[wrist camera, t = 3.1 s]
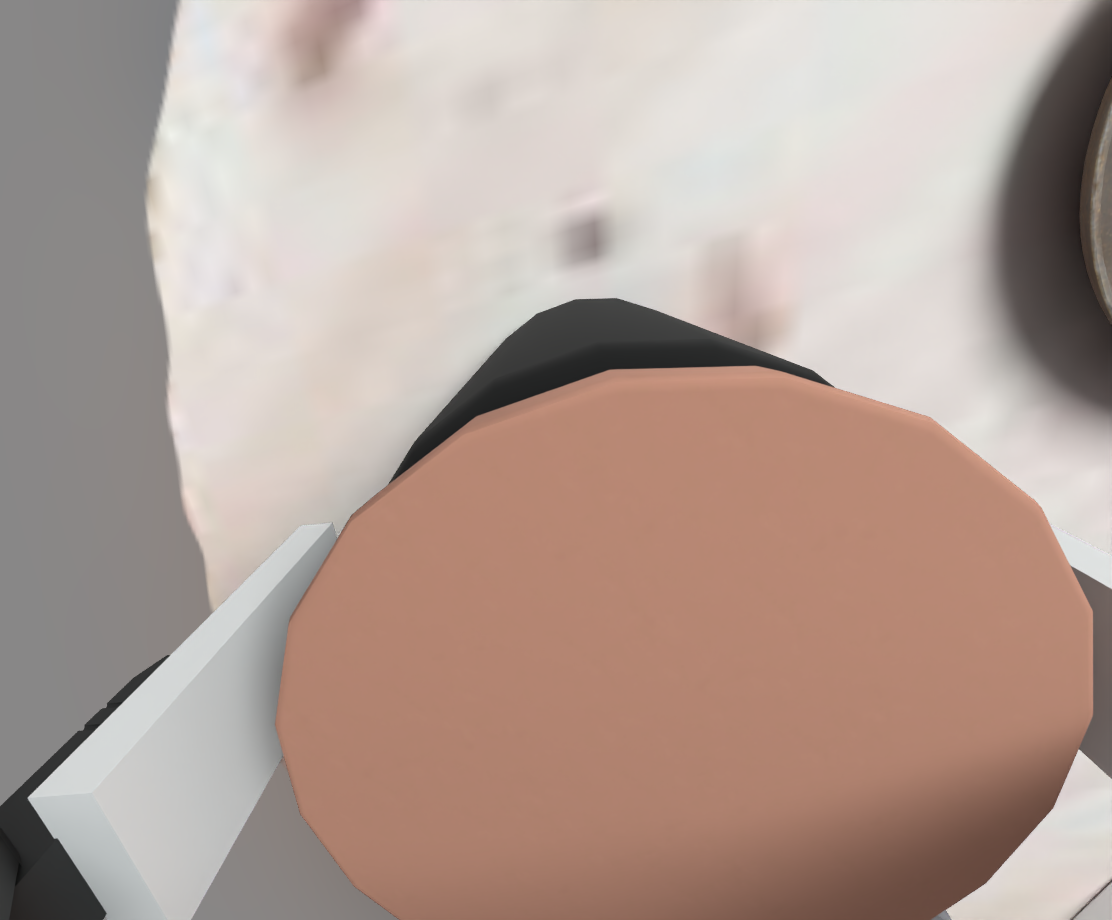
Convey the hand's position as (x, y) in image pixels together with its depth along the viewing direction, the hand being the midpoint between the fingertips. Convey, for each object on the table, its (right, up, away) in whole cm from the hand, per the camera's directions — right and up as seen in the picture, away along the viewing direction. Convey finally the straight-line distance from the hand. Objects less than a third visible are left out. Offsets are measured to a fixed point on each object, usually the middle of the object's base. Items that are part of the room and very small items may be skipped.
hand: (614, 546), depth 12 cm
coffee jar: (0, +4, +12) cm, 13 cm away
